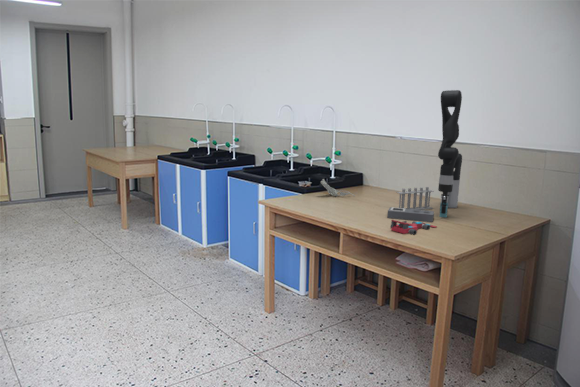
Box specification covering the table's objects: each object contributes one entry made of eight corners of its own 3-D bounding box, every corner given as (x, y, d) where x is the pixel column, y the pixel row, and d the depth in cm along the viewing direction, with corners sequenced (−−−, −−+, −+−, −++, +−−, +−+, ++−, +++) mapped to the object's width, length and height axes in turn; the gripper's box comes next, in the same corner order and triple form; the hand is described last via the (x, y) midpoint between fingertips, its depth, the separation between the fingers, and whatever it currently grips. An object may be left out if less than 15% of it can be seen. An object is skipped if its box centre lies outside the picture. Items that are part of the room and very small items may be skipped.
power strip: (389, 214, 275) (390, 206, 274) (433, 218, 267) (433, 210, 267) (387, 217, 266) (387, 210, 265) (432, 222, 258) (433, 214, 257)
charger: (439, 215, 275) (440, 201, 273) (447, 216, 274) (448, 202, 272) (439, 216, 271) (440, 202, 270) (446, 217, 270) (448, 203, 268)
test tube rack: (399, 211, 282) (401, 189, 279) (395, 210, 286) (396, 188, 283) (432, 208, 293) (434, 187, 290) (427, 207, 296) (429, 186, 294)
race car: (441, 218, 244) (409, 224, 229) (440, 229, 245) (408, 236, 230) (419, 212, 255) (387, 218, 240) (418, 223, 256) (386, 230, 241)
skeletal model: (356, 196, 326) (336, 173, 312) (348, 207, 324) (328, 184, 310) (340, 192, 339) (321, 169, 325) (332, 202, 336) (313, 180, 322)
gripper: (452, 185, 261) (450, 215, 264) (453, 181, 274) (450, 210, 278) (438, 184, 263) (436, 214, 266) (439, 180, 277) (437, 209, 280)
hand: (443, 212), depth 272 cm, fingers open, 6 cm apart
